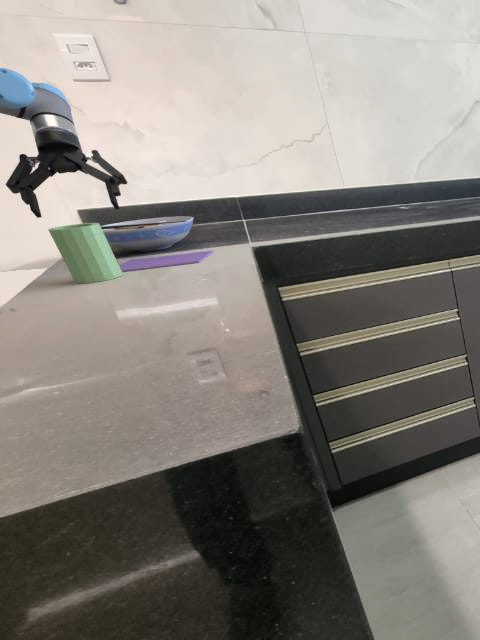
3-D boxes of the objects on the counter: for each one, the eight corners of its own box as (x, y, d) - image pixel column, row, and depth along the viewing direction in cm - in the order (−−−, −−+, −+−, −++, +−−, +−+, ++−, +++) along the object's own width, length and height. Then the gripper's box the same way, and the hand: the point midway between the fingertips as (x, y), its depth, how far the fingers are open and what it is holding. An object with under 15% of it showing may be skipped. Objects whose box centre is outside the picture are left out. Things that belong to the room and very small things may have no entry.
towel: (109, 273, 127) (108, 271, 127) (131, 261, 139) (131, 259, 138) (199, 262, 133) (198, 261, 133) (213, 251, 145) (213, 250, 145)
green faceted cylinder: (68, 285, 118) (40, 231, 113) (85, 277, 125) (59, 225, 120) (114, 279, 121) (89, 226, 116) (128, 271, 128) (105, 221, 123)
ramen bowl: (219, 237, 166) (209, 210, 163) (188, 252, 146) (176, 222, 143) (123, 246, 159) (111, 218, 156) (77, 263, 140) (62, 232, 136)
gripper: (130, 147, 138) (151, 212, 133) (-8, 155, 125) (10, 227, 120) (118, 125, 132) (139, 192, 127) (-28, 131, 119) (-10, 206, 114)
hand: (77, 209), depth 124 cm, fingers open, 13 cm apart
